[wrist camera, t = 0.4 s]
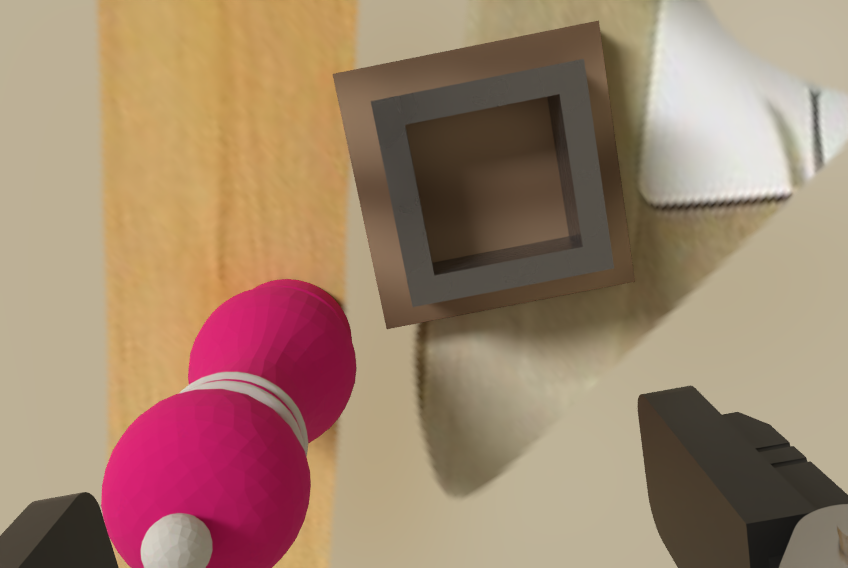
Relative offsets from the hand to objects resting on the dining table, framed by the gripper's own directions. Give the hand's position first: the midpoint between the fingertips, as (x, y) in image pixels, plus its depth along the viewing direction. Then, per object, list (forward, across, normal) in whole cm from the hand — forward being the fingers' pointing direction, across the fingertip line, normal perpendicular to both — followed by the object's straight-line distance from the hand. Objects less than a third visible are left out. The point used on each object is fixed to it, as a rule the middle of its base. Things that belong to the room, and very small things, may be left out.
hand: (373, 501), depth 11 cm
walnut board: (+27, -4, -1) cm, 27 cm away
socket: (+26, -5, -1) cm, 26 cm away
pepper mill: (+27, +6, +5) cm, 28 cm away
